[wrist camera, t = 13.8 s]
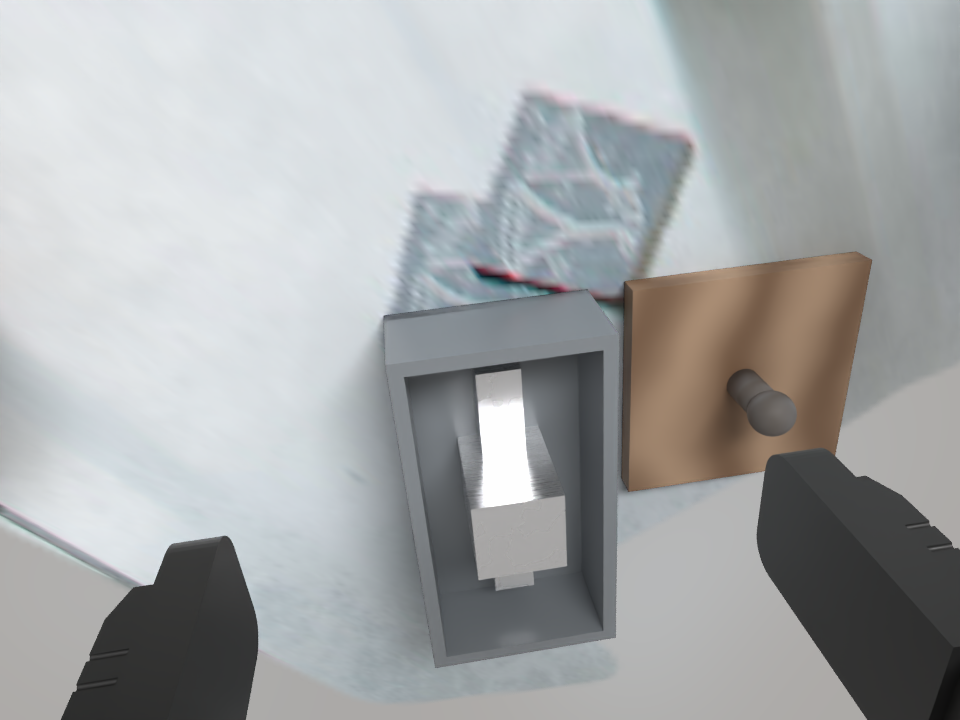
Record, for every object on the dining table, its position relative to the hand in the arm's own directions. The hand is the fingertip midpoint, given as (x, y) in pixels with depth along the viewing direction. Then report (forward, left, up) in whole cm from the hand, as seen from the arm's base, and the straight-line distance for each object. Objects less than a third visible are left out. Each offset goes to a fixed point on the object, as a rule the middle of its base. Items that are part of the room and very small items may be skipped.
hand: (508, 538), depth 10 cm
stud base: (-18, +15, -28) cm, 37 cm away
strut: (-3, +19, -27) cm, 33 cm away
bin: (-3, +19, -28) cm, 34 cm away
